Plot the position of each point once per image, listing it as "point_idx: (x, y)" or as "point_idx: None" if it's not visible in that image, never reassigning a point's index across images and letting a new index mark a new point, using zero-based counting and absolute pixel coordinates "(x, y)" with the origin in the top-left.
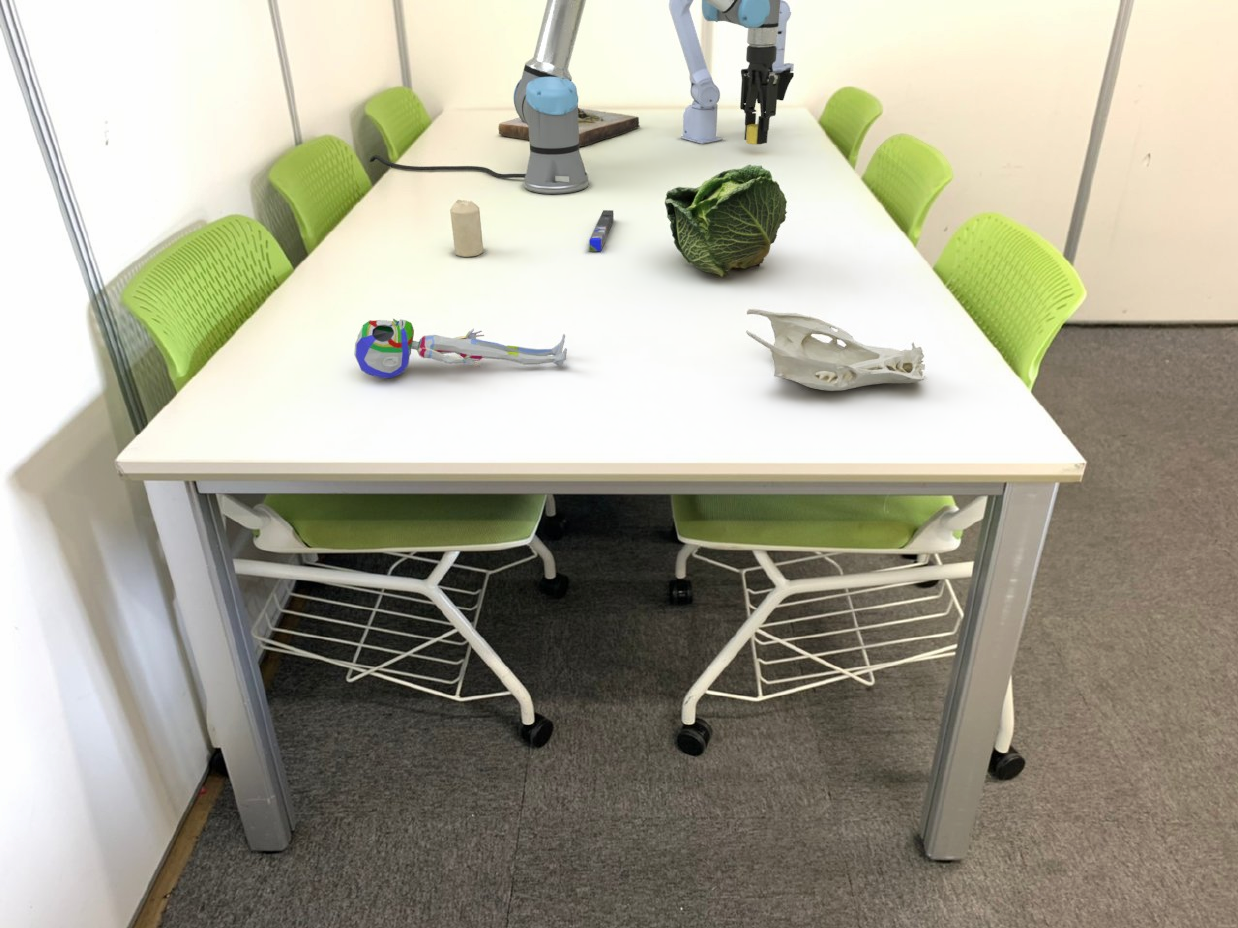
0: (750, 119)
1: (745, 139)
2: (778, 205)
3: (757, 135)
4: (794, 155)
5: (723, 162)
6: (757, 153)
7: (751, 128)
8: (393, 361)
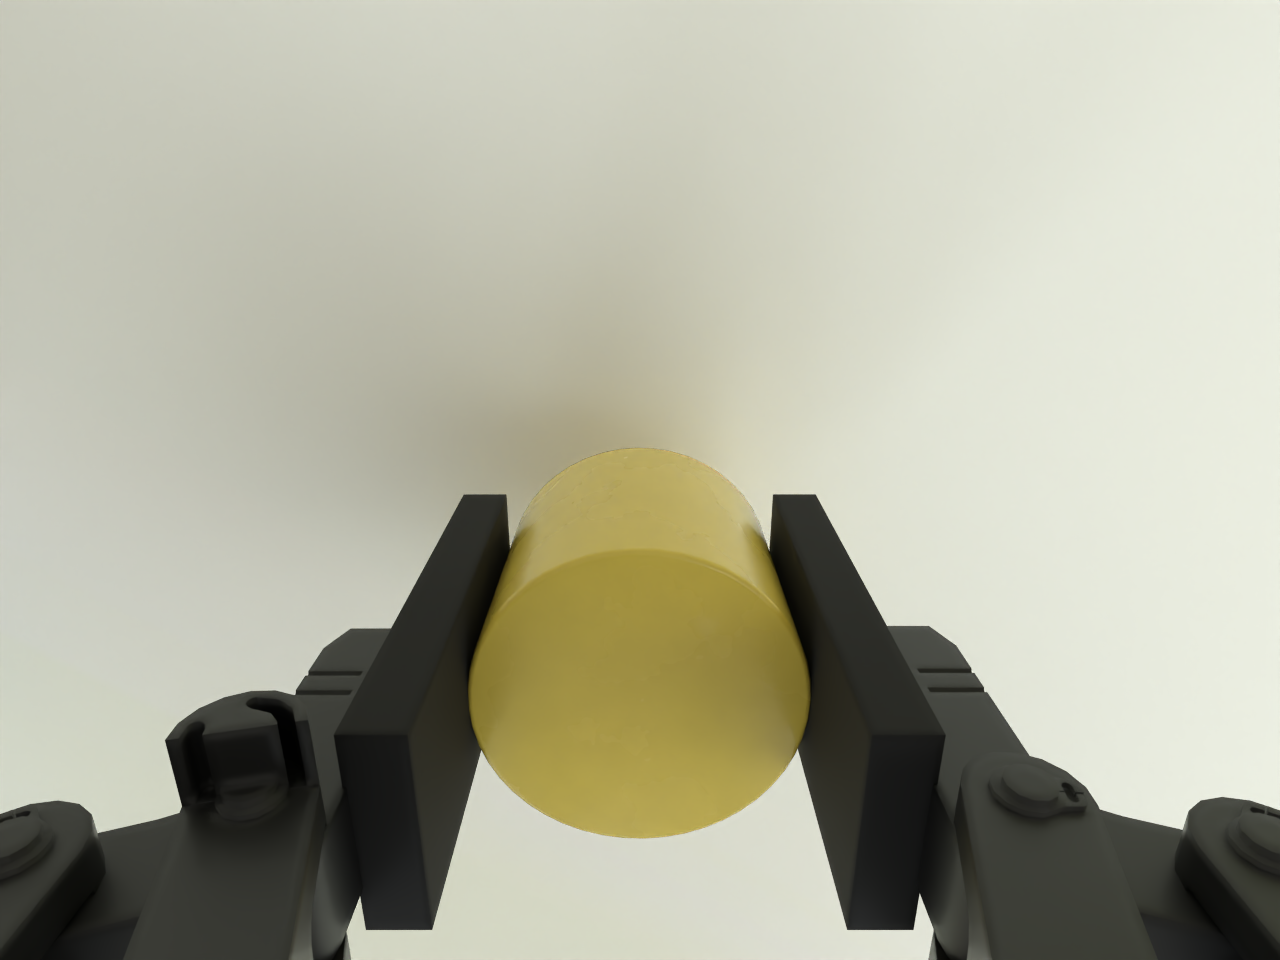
0: (448, 779)
1: None
2: None
3: None
4: (1000, 93)
5: (737, 898)
6: (623, 445)
7: (703, 817)
8: None
